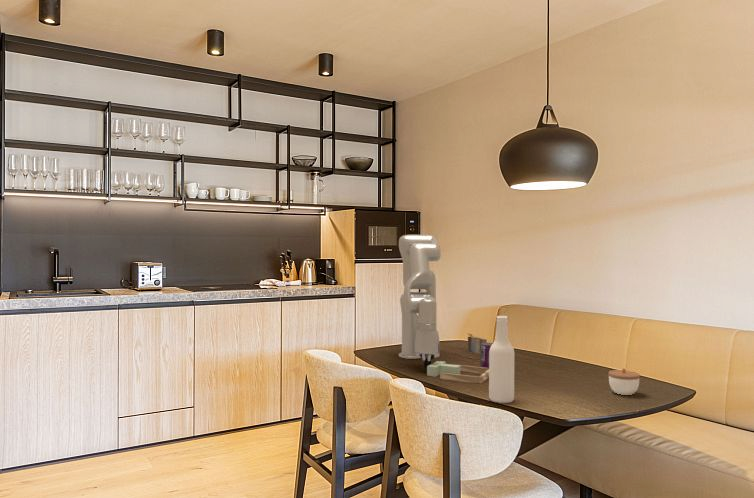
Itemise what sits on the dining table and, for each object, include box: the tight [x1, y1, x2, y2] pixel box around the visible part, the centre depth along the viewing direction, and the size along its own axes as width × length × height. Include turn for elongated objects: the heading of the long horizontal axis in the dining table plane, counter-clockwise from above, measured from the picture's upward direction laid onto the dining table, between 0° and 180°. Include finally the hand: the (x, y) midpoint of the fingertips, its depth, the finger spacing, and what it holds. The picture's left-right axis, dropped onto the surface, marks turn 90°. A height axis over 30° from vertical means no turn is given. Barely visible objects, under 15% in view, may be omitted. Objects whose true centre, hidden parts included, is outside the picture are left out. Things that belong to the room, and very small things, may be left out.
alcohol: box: [488, 315, 515, 404], centre depth 205 cm, size 9×9×30 cm
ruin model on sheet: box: [467, 333, 488, 355], centre depth 293 cm, size 11×3×10 cm, turn 32°
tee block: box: [426, 360, 461, 377], centre depth 244 cm, size 12×12×4 cm
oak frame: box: [439, 364, 489, 384], centre depth 240 cm, size 18×17×2 cm
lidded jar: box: [608, 368, 641, 396], centre depth 214 cm, size 11×11×9 cm
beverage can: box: [479, 342, 494, 368], centre depth 250 cm, size 7×7×12 cm
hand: (427, 369), depth 248 cm, fingers closed
